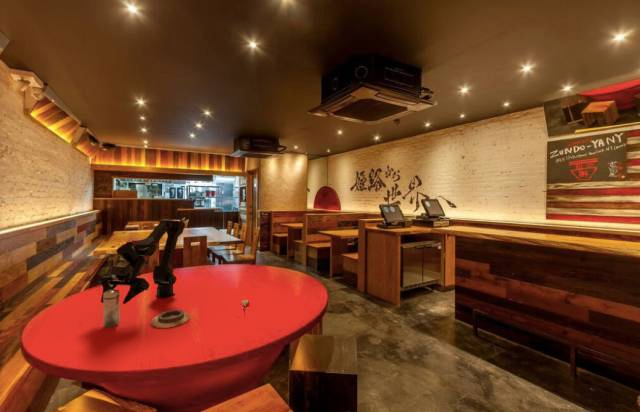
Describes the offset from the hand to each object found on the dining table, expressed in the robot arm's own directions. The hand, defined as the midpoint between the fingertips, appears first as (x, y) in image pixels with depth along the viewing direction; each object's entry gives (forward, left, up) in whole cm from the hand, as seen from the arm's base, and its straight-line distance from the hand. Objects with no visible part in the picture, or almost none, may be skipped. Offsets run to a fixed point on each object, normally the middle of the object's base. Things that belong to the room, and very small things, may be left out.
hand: (112, 303), depth 113 cm
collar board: (-14, +15, -8) cm, 23 cm away
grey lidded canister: (+1, 0, -8) cm, 8 cm away
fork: (-40, +30, -9) cm, 51 cm away
